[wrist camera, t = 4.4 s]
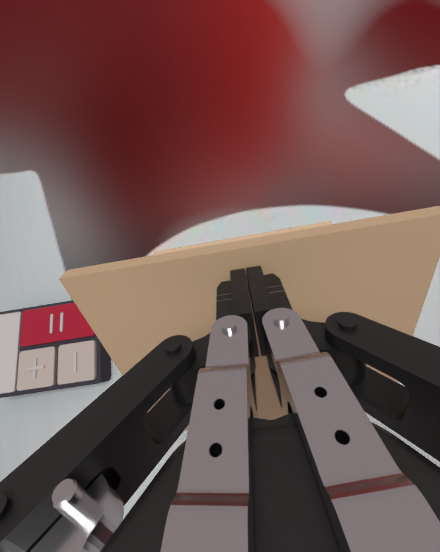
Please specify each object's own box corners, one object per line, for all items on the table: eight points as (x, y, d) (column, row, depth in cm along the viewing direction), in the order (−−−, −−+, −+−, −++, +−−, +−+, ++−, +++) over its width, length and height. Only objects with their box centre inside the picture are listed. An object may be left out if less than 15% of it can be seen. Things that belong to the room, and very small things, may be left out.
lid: (381, 399, 20) (387, 409, 19) (162, 423, 22) (160, 433, 21) (440, 205, 11) (454, 211, 11) (67, 270, 13) (59, 279, 12)
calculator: (97, 383, 30) (-22, 401, 31) (114, 379, 34) (9, 395, 35) (96, 294, 33) (-12, 312, 34) (112, 300, 38) (15, 316, 38)
